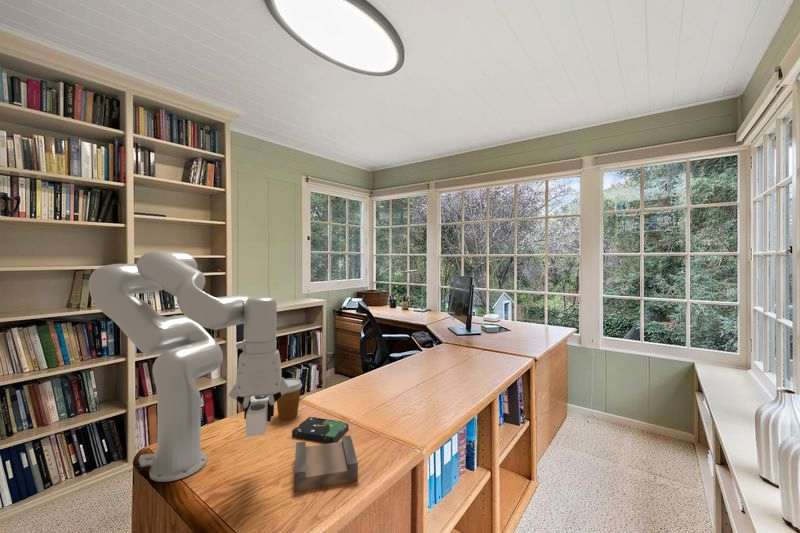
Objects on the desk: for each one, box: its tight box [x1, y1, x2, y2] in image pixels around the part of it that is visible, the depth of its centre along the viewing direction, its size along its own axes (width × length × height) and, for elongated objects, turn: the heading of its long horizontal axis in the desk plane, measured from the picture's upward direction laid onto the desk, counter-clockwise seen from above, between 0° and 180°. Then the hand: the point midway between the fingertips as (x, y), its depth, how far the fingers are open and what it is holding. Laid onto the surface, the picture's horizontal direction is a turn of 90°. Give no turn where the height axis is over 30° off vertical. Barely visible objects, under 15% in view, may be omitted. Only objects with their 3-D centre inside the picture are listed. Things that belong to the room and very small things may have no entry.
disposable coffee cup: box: [276, 378, 303, 421], centre depth 118 cm, size 10×10×12 cm
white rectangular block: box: [245, 395, 269, 438], centre depth 83 cm, size 4×14×5 cm, turn 16°
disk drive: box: [291, 416, 349, 444], centre depth 106 cm, size 10×3×15 cm
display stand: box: [293, 434, 359, 493], centre depth 87 cm, size 15×14×4 cm
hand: (259, 419), depth 83 cm, fingers closed on white rectangular block, 4 cm apart
